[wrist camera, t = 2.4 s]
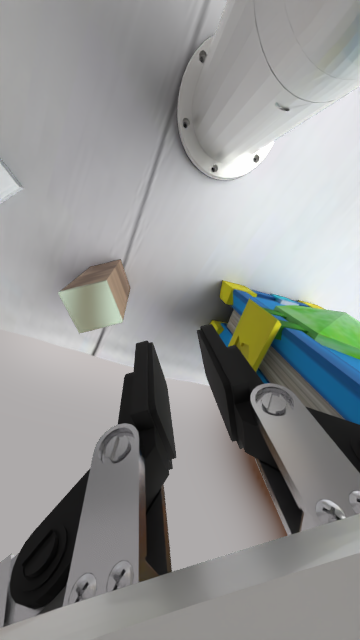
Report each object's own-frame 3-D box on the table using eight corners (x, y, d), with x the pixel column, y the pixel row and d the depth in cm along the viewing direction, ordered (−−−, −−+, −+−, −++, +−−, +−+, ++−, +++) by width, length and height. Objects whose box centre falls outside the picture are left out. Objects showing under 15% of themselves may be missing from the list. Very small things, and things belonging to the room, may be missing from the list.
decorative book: (221, 265, 32) (605, 485, 5) (331, 296, 38) (775, 475, 11) (194, 340, 37) (314, 632, 11) (293, 357, 43) (530, 574, 17)
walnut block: (120, 259, 29) (105, 281, 19) (130, 288, 31) (122, 322, 21) (90, 266, 29) (57, 292, 18) (102, 295, 31) (79, 333, 20)
